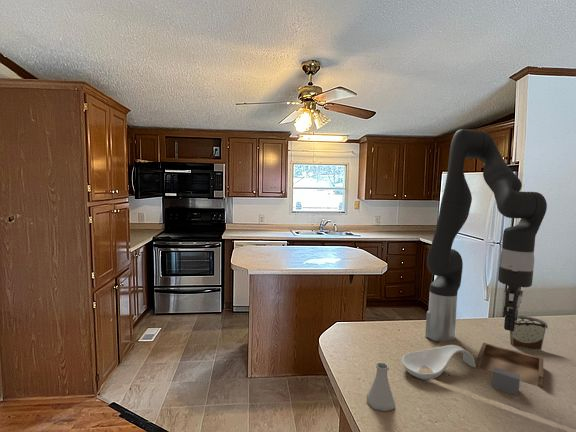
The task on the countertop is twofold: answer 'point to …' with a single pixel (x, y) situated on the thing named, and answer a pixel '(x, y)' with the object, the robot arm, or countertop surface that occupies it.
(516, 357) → the open-fronted box
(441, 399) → the countertop surface
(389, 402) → the flask
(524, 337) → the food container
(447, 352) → the spoon rest
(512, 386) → the cover plate
